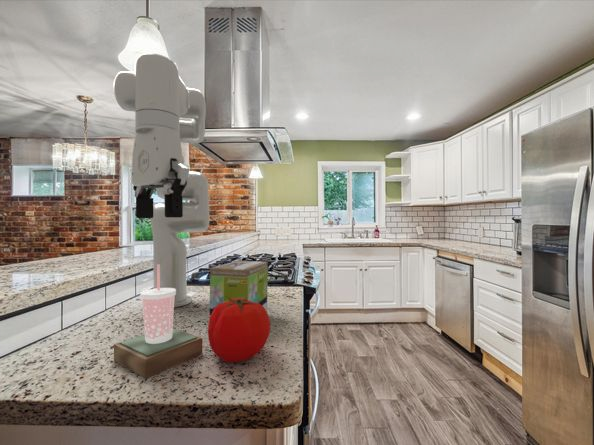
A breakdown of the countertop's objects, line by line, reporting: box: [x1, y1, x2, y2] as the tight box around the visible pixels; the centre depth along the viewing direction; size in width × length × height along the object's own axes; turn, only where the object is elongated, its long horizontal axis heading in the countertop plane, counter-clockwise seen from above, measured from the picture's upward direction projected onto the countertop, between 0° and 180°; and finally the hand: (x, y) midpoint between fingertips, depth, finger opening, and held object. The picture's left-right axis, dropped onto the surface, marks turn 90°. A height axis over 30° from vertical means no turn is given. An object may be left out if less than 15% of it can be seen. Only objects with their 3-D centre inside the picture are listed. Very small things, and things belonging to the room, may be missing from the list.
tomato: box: [207, 296, 271, 364], centre depth 55 cm, size 12×12×11 cm
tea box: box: [208, 260, 269, 320], centre depth 76 cm, size 15×10×15 cm, turn 168°
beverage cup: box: [139, 264, 176, 344], centre depth 56 cm, size 6×6×14 cm
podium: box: [113, 327, 203, 379], centre depth 56 cm, size 11×11×3 cm
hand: (158, 217), depth 56 cm, fingers open, 9 cm apart
